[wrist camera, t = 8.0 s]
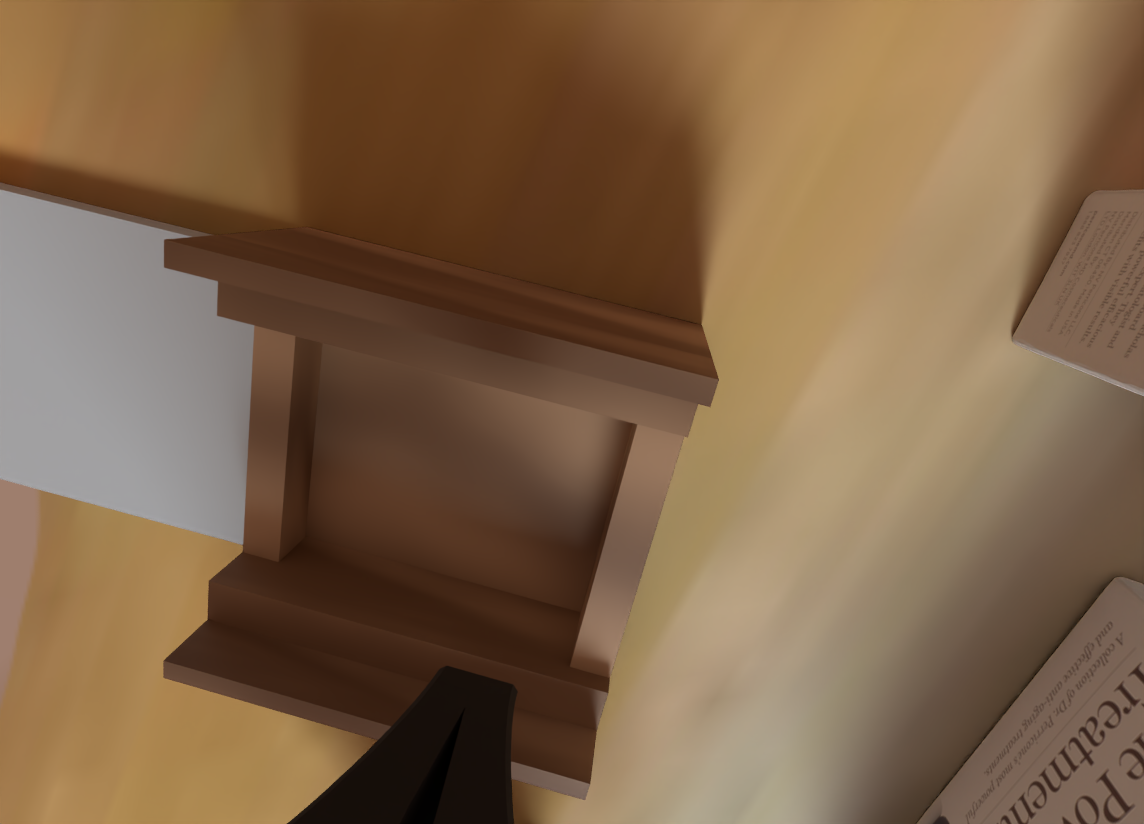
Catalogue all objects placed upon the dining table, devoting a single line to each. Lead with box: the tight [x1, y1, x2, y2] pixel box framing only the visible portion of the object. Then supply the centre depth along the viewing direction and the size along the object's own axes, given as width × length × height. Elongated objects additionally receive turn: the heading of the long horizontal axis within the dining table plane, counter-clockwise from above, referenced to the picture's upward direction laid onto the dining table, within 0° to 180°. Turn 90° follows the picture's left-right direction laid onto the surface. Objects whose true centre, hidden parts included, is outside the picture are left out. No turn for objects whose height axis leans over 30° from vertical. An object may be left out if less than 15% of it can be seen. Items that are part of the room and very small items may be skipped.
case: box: [164, 227, 719, 800], centre depth 18 cm, size 12×12×6 cm
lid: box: [0, 182, 254, 545], centre depth 21 cm, size 10×10×2 cm
